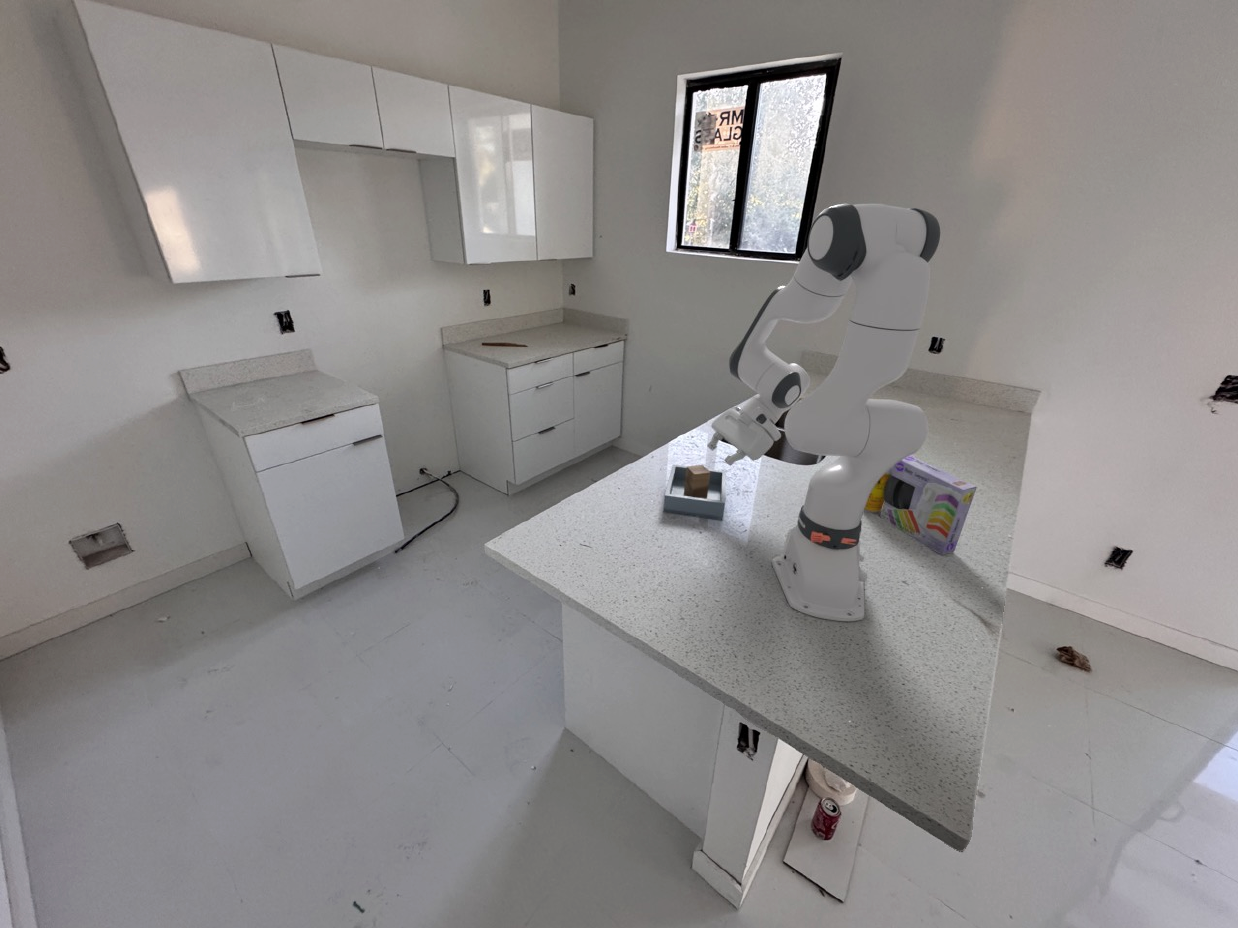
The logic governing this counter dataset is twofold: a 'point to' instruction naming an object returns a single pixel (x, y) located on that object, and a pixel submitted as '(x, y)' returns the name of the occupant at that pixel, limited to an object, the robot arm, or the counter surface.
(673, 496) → the tote
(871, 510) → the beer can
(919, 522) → the cake pan box
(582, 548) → the counter surface
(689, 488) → the walnut block
